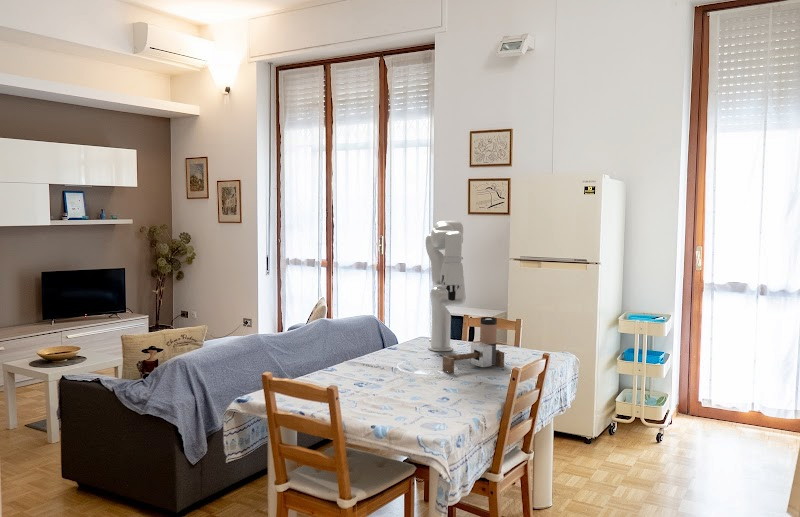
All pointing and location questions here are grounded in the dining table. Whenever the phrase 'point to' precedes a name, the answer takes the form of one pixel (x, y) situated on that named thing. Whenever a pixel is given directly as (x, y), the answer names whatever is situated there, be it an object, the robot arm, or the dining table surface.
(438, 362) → the dining table surface
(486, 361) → the sleeve
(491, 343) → the travel mug
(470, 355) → the dowel rail
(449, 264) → the robot arm
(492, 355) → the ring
